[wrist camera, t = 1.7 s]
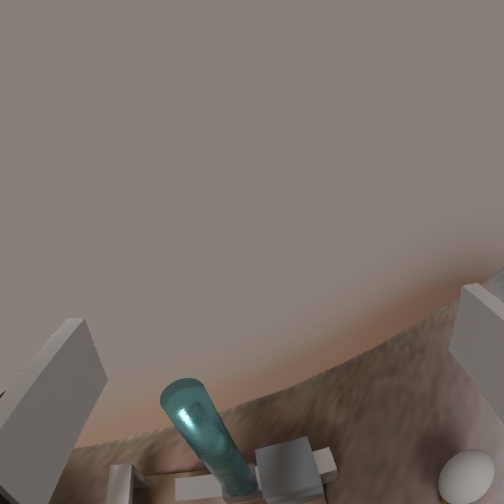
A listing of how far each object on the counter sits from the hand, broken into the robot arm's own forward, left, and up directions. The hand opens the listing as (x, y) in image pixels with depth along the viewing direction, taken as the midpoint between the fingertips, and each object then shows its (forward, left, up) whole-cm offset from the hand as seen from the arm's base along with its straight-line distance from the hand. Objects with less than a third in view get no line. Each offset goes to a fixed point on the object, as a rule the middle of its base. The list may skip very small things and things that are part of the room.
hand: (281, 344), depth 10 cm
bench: (+12, -9, -31) cm, 34 cm away
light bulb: (-14, +1, -31) cm, 34 cm away
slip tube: (+6, -9, -30) cm, 31 cm away
